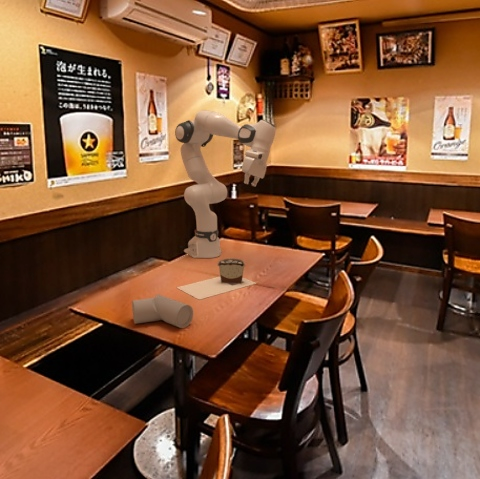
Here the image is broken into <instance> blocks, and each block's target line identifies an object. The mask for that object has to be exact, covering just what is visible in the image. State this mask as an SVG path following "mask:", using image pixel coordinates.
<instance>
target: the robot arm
mask: <svg viewBox="0 0 480 479" xmlns="http://www.w3.org/2000/svg"><path fill="white" fill-rule="evenodd" d="M276 129H277V128H276V126H275V124H274V123H272V122H270V121H267V120H265V119H260V120H259V121H258V122H254V123H250V124H248V123H247V124H246V123H245V124H244V125H242V126H241V125H238V123H236V122H234V121H232V120H231V119H230V118H228V117H227V116H225V115H224V114H222V113H219V112H216V111H213V110H207V109H201V110H200V111H198V112H197V113H196V114H195V117H194V119H193V120H192V121H191V120H189V119H188V120H186V121H183V122H180V123H179V124H177V126H176V127H175V131H174V134H175V135H174V136H175V138H176V140H177V142H180V143H182V145H181V146H180V156H181V160H182V163H183V165H184V168H185V171H186V174H187V176H188V177H189V178H188V179H190V180H191V181H193V182H195V183H196V184H193V185H191V186H187V187H186V188H185V190H184V192H183V196H184V200H185V202H186V203H187V205H189V206H190V207H191V208H192V209H193V211H194V215H195V221H196V229H195V230H194V236H193V237H192V238H190V239H189V241H188V243H187V247H188V248H184V250H183V252H184V253H185V254H187V255H188V256H190V257H192V258H193V259H198V258H200V259H212V258H217V257H219V256H221V255H222V252H223V251H222V249H221V243H220V238H219V237H218V236H219V229H218V216H217V214H216V213H215V212H214V211H212V210H211V208H210V204H211V205H212V204H218V203H220V202H222V201H225V199H227V197H228V188H227V187H226V185H225V184H224V183H222V182H220V181H219V180H218V179H216V178H215V176H214V175H213V174H212V173H211V172H210V169H209V168H208V166H207V163H206V161H205V159H204V156H203V154H202V151H201V149H202V148H204V147H206V146H207V144H209V143H210V142H211V141H212V139H213V137H214V136H216V137H217V136H218V137H224V138H230V139H235V140H238V142H239V143H241V144H242V145H244V146H246V147H249V148H250V149H247V150H246V151H245V153H244V155H245V156H244V158H243V162H242V165H241V171H242V173H244V181H243V183H244V184H246V185H249V182H250V177H251V176H253V177H254V180H253V181H252V182H251V186H252V187H256V186H257V184H258V183H259V181H260V179H264V178H265V175H266V172H267V165H268V164H267V163H268V159H269V156H270V153H271V147H272V145H273V143H274V139H275V136H276V132H277V130H276ZM201 147H202V148H201Z"/></svg>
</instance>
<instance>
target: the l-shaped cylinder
mask: <svg viewBox="0 0 480 479" xmlns="http://www.w3.org/2000/svg"><path fill="white" fill-rule="evenodd" d="M131 307H132V310H131V311H132V316H133V317H132V319H133V322H134V325H137V324H143V323H150V322H151V323H152V322H157V321H164V322H165V323H166V324H170V325H172V326H174V327H177V328H180V329H184V328H186V327H188V326H190V325H191V323H192V321H193V318H194V308H193V307H192V306H191V305H190V304H186V303H184V302H180V301H178V300H176V299H172V298H170V297H167V296H164V295H161V294H156V295H155V297H150V298H143V299H135V300H131Z"/></svg>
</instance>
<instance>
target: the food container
mask: <svg viewBox="0 0 480 479" xmlns="http://www.w3.org/2000/svg"><path fill="white" fill-rule="evenodd" d="M217 267H219V277H220V278H221V283H233V284H242V278H244V270H245V268H244V267H246V264H245V261H244V260H243V259H239V258H223V259H220V260H219V261H218V263H217Z"/></svg>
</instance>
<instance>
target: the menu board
mask: <svg viewBox="0 0 480 479" xmlns="http://www.w3.org/2000/svg"><path fill="white" fill-rule="evenodd" d="M253 285H257V282H255V281H252V280H250V279H248V278H245V277H243V278H242V284H233V283H221V278H220V276H217V277H213V278H208V279H204V280H200V281H196V282H192V283H189V284H185V285H181V286H178V287H177V286H176V289H177V290H180V291H181V292H184V293H185V294H187V295H189V296H191V297H193V298H195V299H197V300H199V301H200V300H204V299H206V298H211V297H214V296H218V295H221V294H225V293H228V292H231V291H236V290H240V289H242V288H246V287H249V286H250V287H251V286H253Z"/></svg>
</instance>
